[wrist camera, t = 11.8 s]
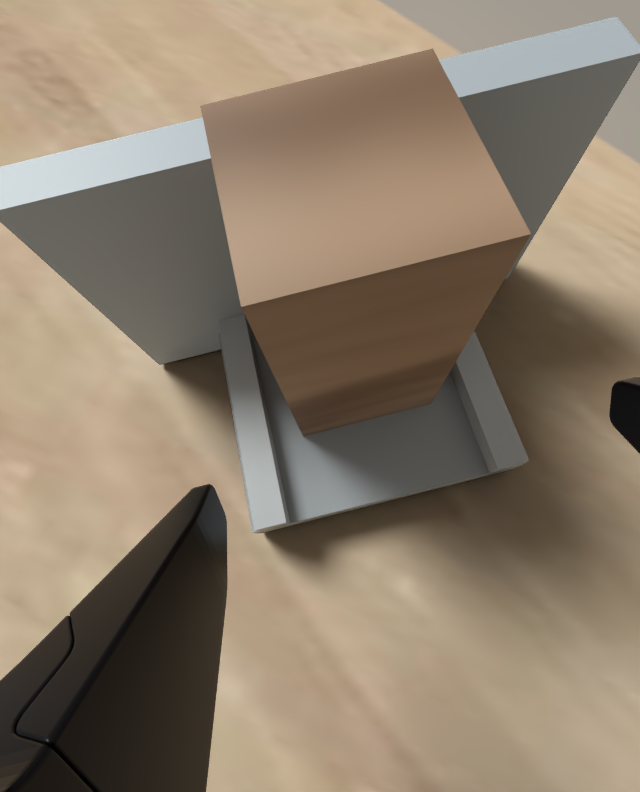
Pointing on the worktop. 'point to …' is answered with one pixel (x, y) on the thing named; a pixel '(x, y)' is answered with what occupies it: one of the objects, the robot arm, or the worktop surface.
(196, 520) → the robot arm
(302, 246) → the walnut cabinet block
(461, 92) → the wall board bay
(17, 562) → the worktop surface
